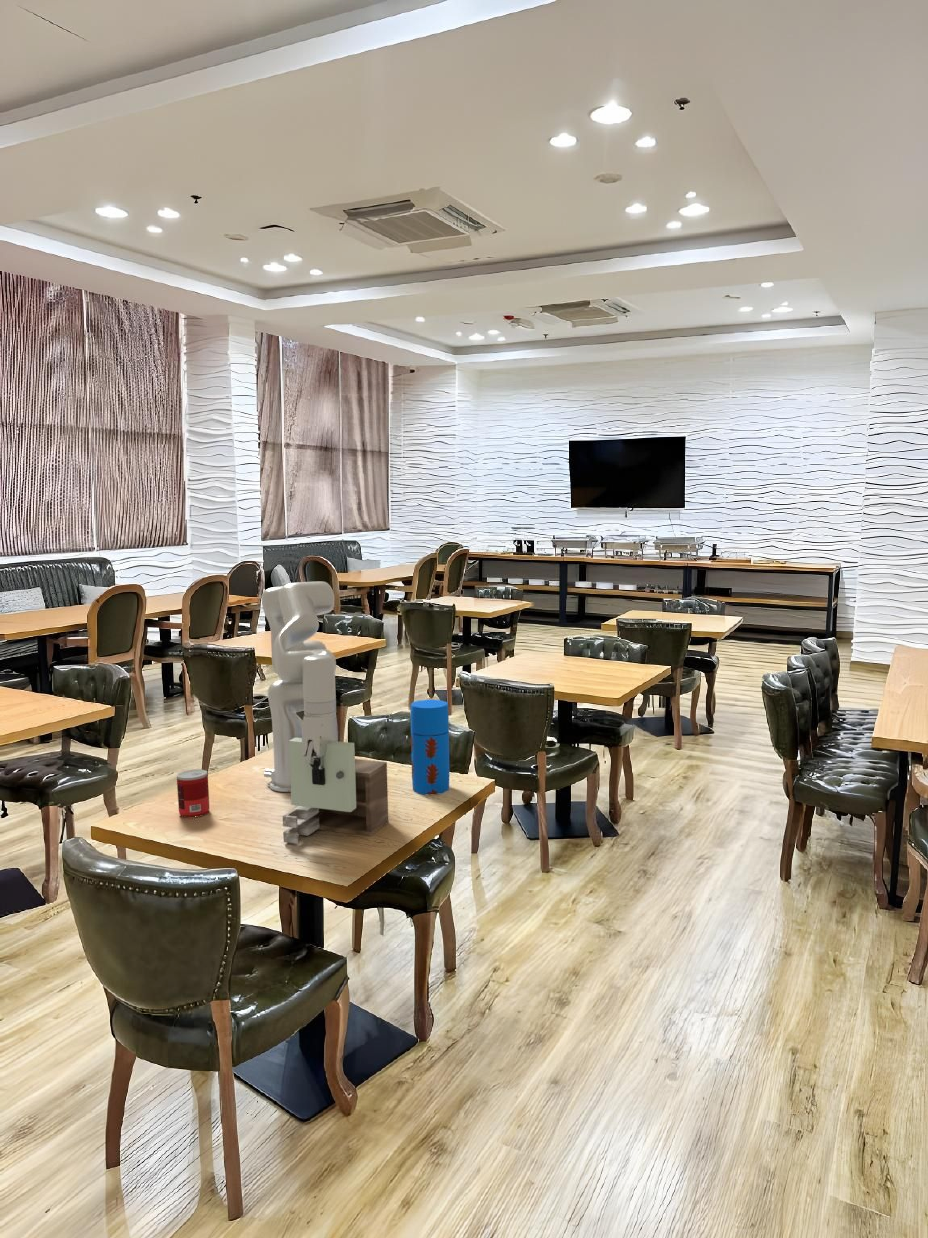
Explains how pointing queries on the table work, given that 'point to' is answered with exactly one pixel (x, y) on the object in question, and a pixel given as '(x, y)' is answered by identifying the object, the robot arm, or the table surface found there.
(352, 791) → the door
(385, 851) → the table surface
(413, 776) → the thermos
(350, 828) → the cabinet
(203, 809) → the canned food
